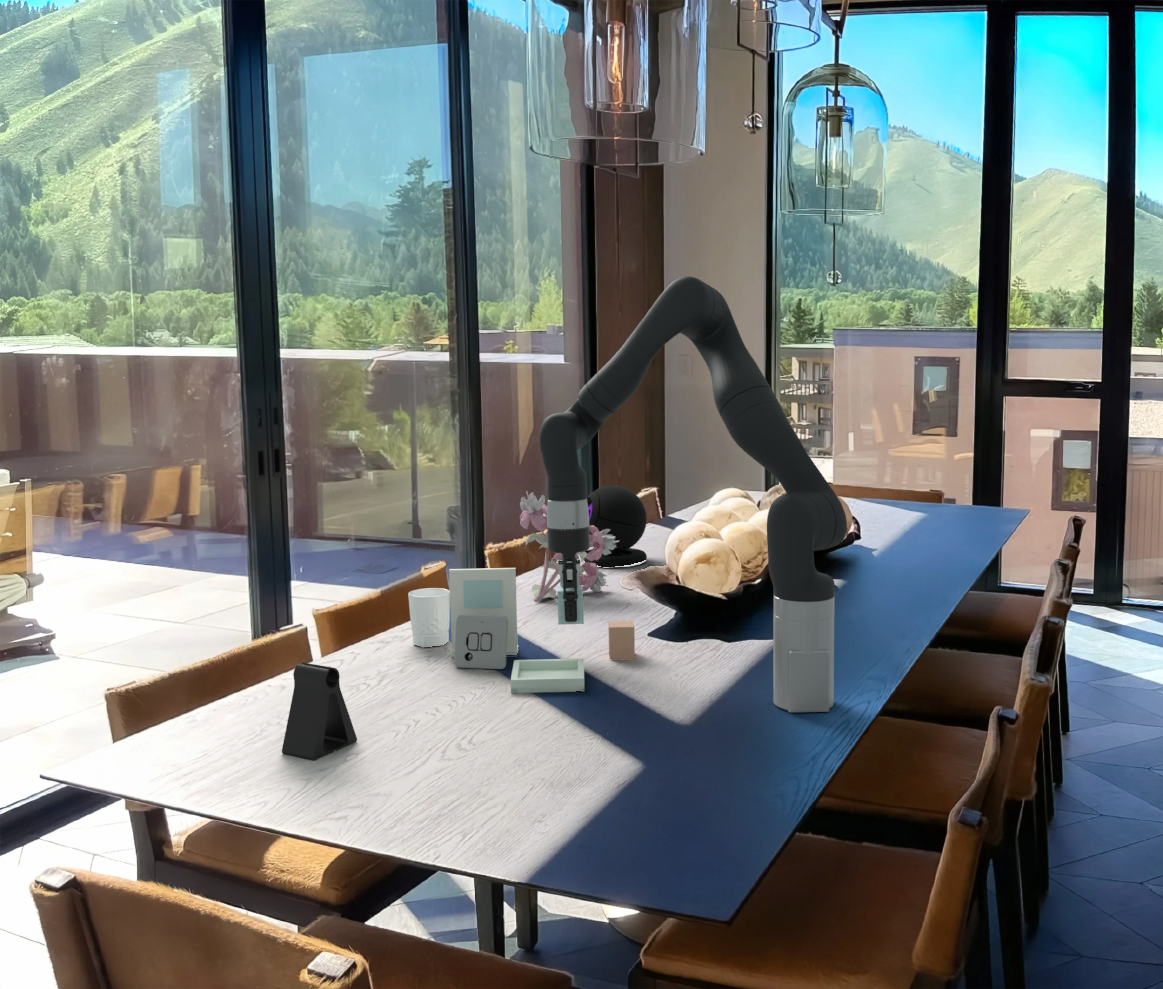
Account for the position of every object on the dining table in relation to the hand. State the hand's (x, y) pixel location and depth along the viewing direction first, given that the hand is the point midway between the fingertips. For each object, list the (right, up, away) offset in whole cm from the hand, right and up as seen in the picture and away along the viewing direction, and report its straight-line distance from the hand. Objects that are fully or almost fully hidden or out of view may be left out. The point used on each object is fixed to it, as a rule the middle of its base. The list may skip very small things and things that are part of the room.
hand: (571, 617), depth 208 cm
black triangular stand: (-35, -14, -43) cm, 58 cm away
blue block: (0, -1, 0) cm, 1 cm away
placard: (-16, -7, +4) cm, 18 cm away
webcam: (+10, +4, +92) cm, 93 cm away
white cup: (-27, -7, +13) cm, 31 cm away
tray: (-4, -9, -13) cm, 17 cm away
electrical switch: (-16, -8, -3) cm, 18 cm away
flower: (0, -1, +54) cm, 54 cm away
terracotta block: (+9, -7, +2) cm, 12 cm away
